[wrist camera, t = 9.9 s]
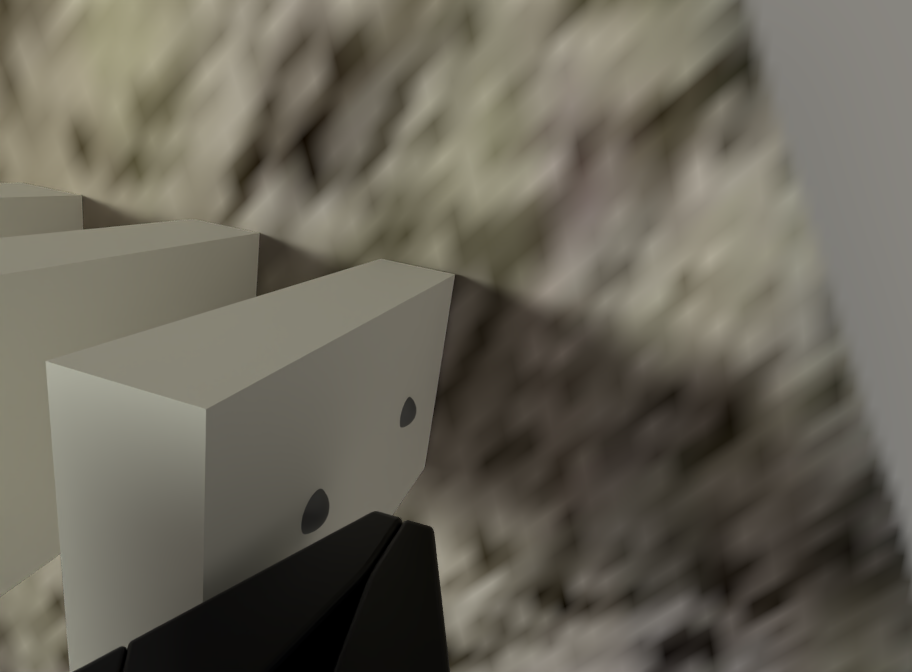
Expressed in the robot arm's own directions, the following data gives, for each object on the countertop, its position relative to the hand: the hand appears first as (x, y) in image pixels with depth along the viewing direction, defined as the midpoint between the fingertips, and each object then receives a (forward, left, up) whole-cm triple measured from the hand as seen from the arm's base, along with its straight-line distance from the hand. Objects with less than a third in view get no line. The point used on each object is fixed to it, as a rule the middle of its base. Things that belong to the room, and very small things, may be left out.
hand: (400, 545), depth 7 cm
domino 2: (0, +7, -6) cm, 9 cm away
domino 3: (0, +2, -6) cm, 6 cm away
